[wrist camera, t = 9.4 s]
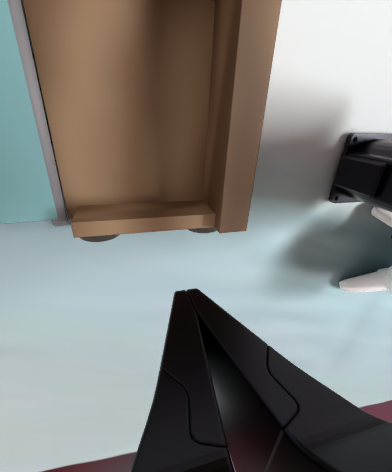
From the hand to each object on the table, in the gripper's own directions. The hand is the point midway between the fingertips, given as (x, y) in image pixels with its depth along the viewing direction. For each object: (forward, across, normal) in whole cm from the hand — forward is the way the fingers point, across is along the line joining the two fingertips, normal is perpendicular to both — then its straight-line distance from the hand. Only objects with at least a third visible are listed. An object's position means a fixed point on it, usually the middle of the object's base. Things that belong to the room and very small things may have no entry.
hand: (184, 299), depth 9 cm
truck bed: (+12, 0, -6) cm, 14 cm away
